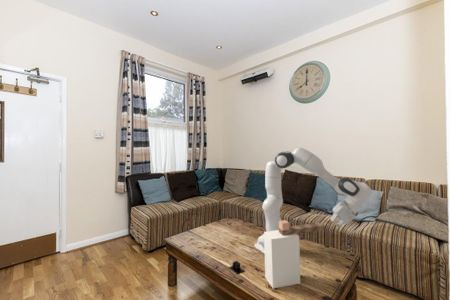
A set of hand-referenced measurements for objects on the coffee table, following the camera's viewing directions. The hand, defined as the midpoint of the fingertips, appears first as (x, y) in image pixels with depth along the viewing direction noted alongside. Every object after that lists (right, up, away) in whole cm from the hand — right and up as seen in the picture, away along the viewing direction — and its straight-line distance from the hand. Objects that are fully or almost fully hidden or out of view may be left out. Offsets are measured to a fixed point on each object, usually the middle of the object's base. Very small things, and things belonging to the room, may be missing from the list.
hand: (334, 223), depth 126 cm
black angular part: (-58, -30, +3) cm, 65 cm away
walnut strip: (-22, -2, -6) cm, 22 cm away
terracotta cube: (-32, 0, -9) cm, 33 cm away
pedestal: (-33, -28, -9) cm, 44 cm away
